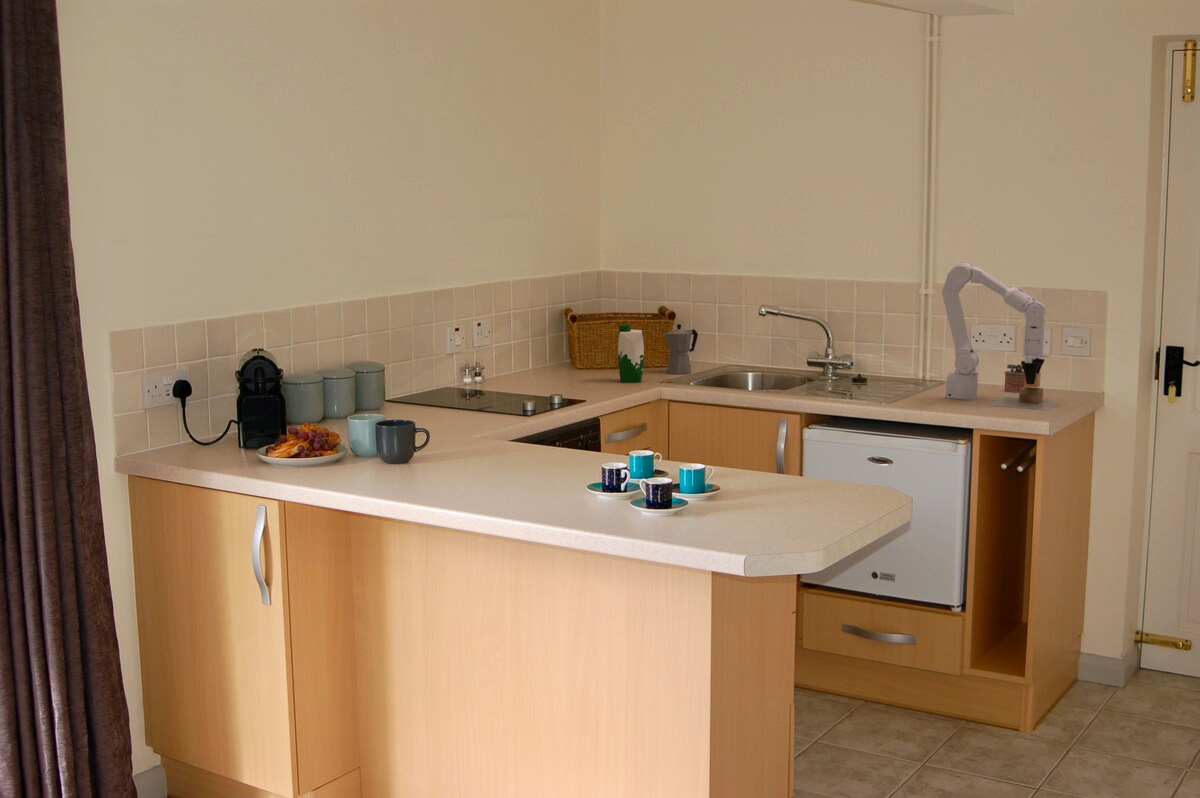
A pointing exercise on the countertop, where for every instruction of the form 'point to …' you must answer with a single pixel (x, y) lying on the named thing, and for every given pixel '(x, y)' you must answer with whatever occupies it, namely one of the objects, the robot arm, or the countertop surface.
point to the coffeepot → (680, 350)
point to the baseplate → (1024, 404)
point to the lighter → (1014, 378)
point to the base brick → (1031, 395)
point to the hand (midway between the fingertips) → (1031, 382)
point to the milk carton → (630, 354)
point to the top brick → (1036, 383)
